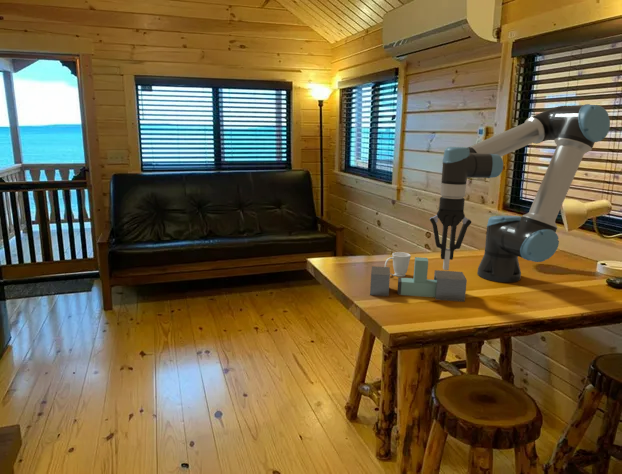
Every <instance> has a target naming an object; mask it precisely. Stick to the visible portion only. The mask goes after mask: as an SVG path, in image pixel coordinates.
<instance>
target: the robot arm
mask: <svg viewBox="0 0 622 474" xmlns="http://www.w3.org/2000/svg"><path fill="white" fill-rule="evenodd" d="M609 116H610V115H609V113H608V111H607V110H606V109H605V108H604V107H603V106H601V105H598V104H590V103H587V104H576V105H575V104H574V105H560V106H555V107H552V108H549V109H547V110H544V111H541V112H540V113H538V114H536V115H535V114H534V115H533V116H531V117H528V118H526V120H524V123H522V124H521V123H520V124H519V125H517V126H515V127H512V128H510V129H507V130H506V131H502V132H500V133H498V134H496V135H493V136H491V137H488V138H486V139H484V140H482V141H478V142H477V143H475V144H473V145H471V146H470V145H469V146H468V147H465V146H464V147H463V146H447V147H446V148H445V149H444V152H443V158H442V169H441V184H440V193H439V194H440V197H439V203H438V204H439V205H438V211H436V215H434V216H430V217H429V221H430V223H431V225H432V230H433V236H434V242H435V246H436V248H438V249H440V258H441V260H443V261H442V262H443V264H442V269H443V271H450V261H453V259H454V253H455V252H454V251H455V250H459V249H460V248H461V246H462V244H463V241H464V239H465V235H466V232H467V230H468V227H469V226H471V224H472V220H471V219H470V218H467V217H466V215H465V212H464V211H465V200H466V199H465V197H466V192H467V180H468V179H471V178H473V179H474V178H475V179H478V178H479V179H482V178H483V179H485V178H486V179H491V178H497V177H499V176H500V175H501V174H502V172H503V170H504V160H503V158H502V157H503V156H506V155H508V154H511V153H512V152H515V151H517V150H519V149H522V148H524V147H526V146H528V145H531V144H535V145H536V144H541V143H543V142H546V141H553V142H555V145H556V148H555V150H554V153H553V154H552V157H551V159H550V162H549V164H548V167H547V169H546V171H545V174H544V176H543V179H542V181H541V182H540V186H539V188H538V190H537V192H536V195H535V197H534V200H533V201H532V204H531V206H530V208H529V212H527V213H525V214H523V215H522V216H520V215H494V216H493V215H492V216H490V217H489V218H488V221H487V225H486V234H485V246H484V252H483V253H484V254H483V257H482V259H481V261H480V263H479V265H478V267H477V275H478V276H479V277H480V278H483V279H485V280H489V281H491V282H498V283H515V282H516V283H517V282H519V281H520V280H521V278H522V277H521V276H522V272H521V266H520V263H519V258H521V259H524V260H526V261H529V262H530V261H531V262H533V263H542V262H545V261H546V260H549V259H550V258H551V257H552V256H554V254H555V253H556V252H557V250H558V248H559V244H560V241H559V235H558V234H557V233H556V232H557V230H558V226H557V223H556V219H557V218H558V214H559V213H560V210H561V208H562V206H563V203H564V201H565V199H566V197H567V194H568V192H569V190H570V187H571V186H572V182H573V180H574V179H575V175H576V173H577V171H578V169H579V167H580V165H581V162H582V161H583V158H584V155H585V154H586V153H590V152H591V151H592V150H593V148H594V145H595V144H596V143H598V142H601V141H602V140H604V139H605V138H606V137H608V136H607V135H608V134H609V132H610V127H611V120H610V119H611V118H610V117H609ZM439 221H440V223H441V224H442V234H441V241H440V236H439V235H440V234H439V230H438V229H439V228H438V223H439ZM461 222H462V225H461V228H460V231H459V234H458V236H456V234H457V226H459V224H461ZM449 227H450V236H449V248H447V241H448V231H449ZM456 237H457V239H456Z"/></svg>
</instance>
